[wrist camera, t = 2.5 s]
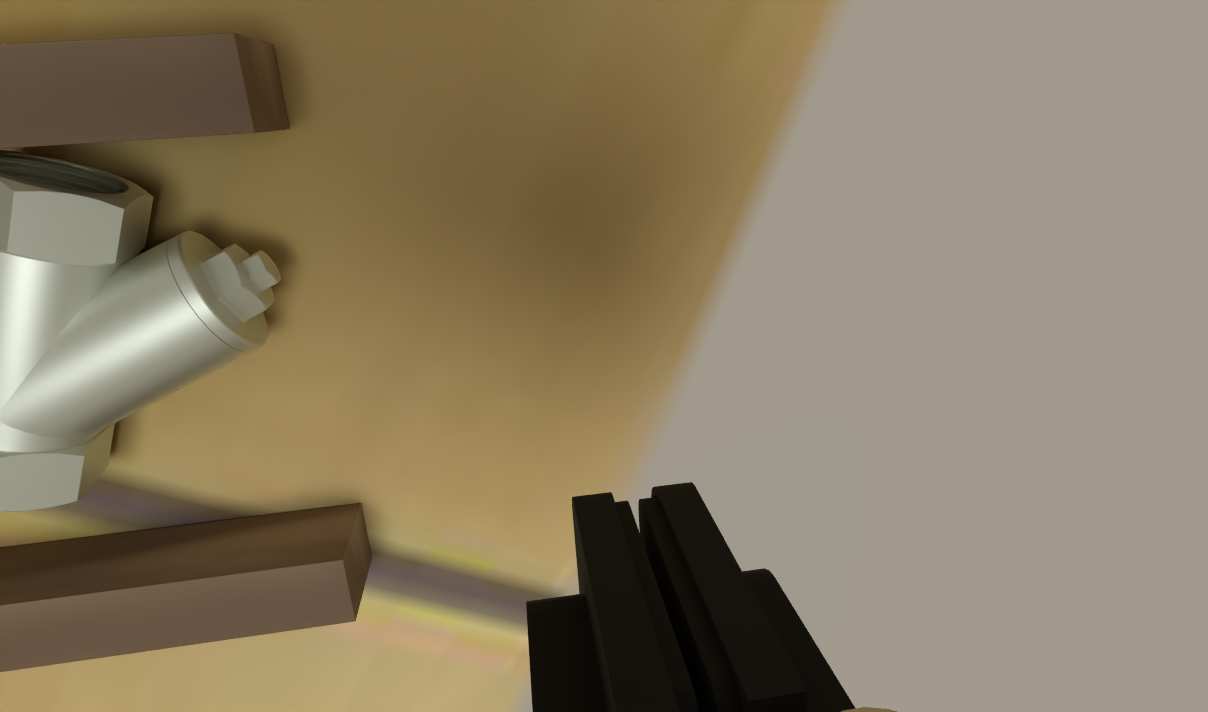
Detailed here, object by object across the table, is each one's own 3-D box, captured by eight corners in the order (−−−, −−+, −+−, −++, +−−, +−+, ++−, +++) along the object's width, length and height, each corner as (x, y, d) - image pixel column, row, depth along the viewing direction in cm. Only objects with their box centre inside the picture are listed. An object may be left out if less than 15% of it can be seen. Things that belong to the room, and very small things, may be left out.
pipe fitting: (301, 224, 20) (16, 143, 18) (275, 254, 17) (-84, 157, 14) (244, 474, 22) (-17, 428, 20) (210, 549, 19) (-114, 502, 17)
